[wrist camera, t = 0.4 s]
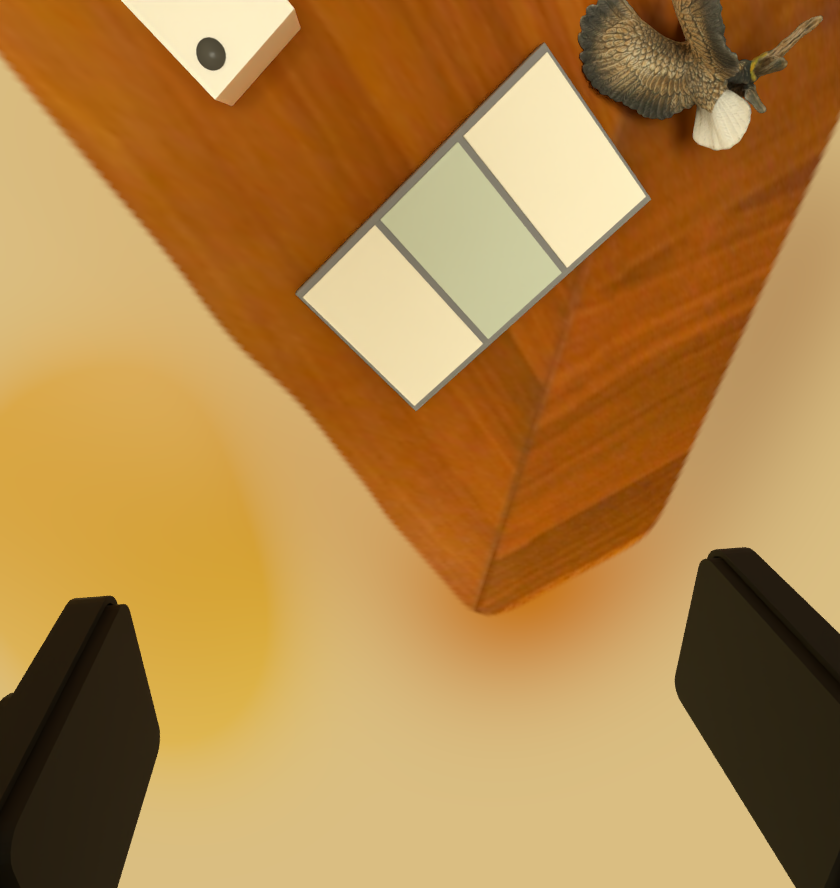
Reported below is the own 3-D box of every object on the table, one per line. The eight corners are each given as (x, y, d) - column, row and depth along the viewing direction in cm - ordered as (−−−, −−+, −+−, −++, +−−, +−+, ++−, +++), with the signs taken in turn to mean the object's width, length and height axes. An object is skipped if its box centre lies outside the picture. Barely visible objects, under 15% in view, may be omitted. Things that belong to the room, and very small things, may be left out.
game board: (539, 44, 32) (545, 42, 31) (644, 198, 36) (652, 199, 35) (296, 291, 36) (295, 294, 35) (414, 406, 40) (416, 412, 39)
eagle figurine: (794, -25, 31) (659, -124, 28) (851, 55, 28) (704, -46, 24) (678, 110, 37) (554, 43, 34) (713, 190, 34) (578, 125, 30)
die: (220, -68, 29) (197, -108, 25) (301, 28, 31) (294, 8, 26) (149, 18, 30) (115, -6, 26) (232, 106, 32) (214, 99, 28)
